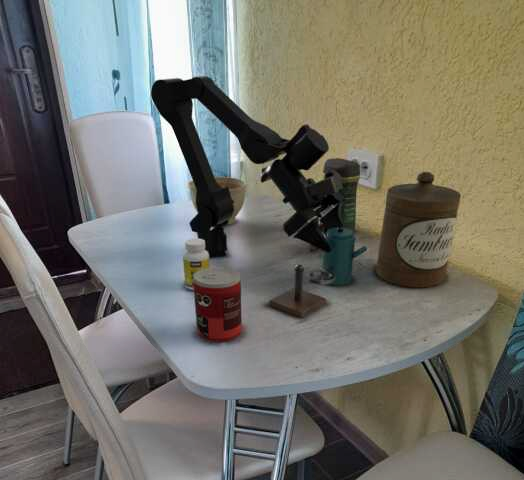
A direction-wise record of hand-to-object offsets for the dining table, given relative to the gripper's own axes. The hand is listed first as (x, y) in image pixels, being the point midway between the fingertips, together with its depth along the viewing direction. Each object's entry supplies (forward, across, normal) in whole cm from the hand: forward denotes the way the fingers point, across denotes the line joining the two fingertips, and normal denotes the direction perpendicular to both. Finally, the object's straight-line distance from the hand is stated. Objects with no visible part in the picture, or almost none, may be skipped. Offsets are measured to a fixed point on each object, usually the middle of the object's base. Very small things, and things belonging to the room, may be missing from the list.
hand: (338, 244), depth 106 cm
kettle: (+7, -4, +4) cm, 9 cm away
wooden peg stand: (+4, -15, +7) cm, 17 cm away
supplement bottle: (-12, -18, +23) cm, 31 cm away
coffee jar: (-4, +32, +15) cm, 35 cm away
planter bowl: (-27, +22, +38) cm, 51 cm away
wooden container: (+15, +11, -4) cm, 19 cm away
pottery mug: (0, +16, +12) cm, 20 cm away
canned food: (-1, -32, +12) cm, 34 cm away
